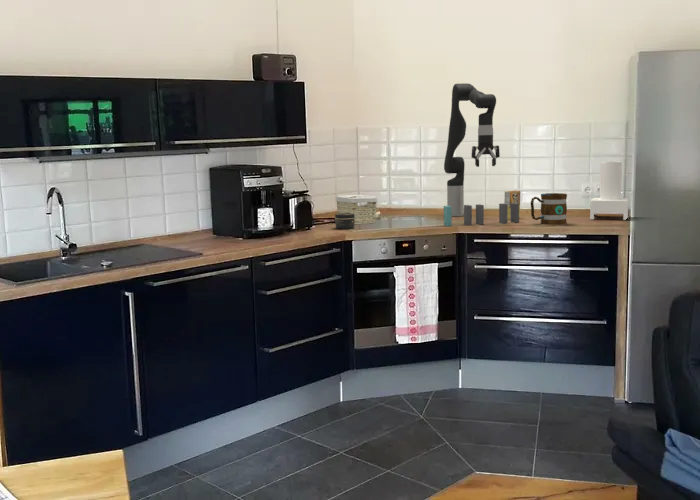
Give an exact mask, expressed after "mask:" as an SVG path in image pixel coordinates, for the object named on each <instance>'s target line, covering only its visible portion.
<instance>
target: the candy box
mask: <svg viewBox="0 0 700 500" xmlns="http://www.w3.org/2000/svg"><path fill="white" fill-rule="evenodd" d="M503 199H504V201H503V202H504V204H507V221H508V220H510V221H511V203H518V204H519V219H521V190H516V189H515V190H505V191H504V198H503Z"/></svg>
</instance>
